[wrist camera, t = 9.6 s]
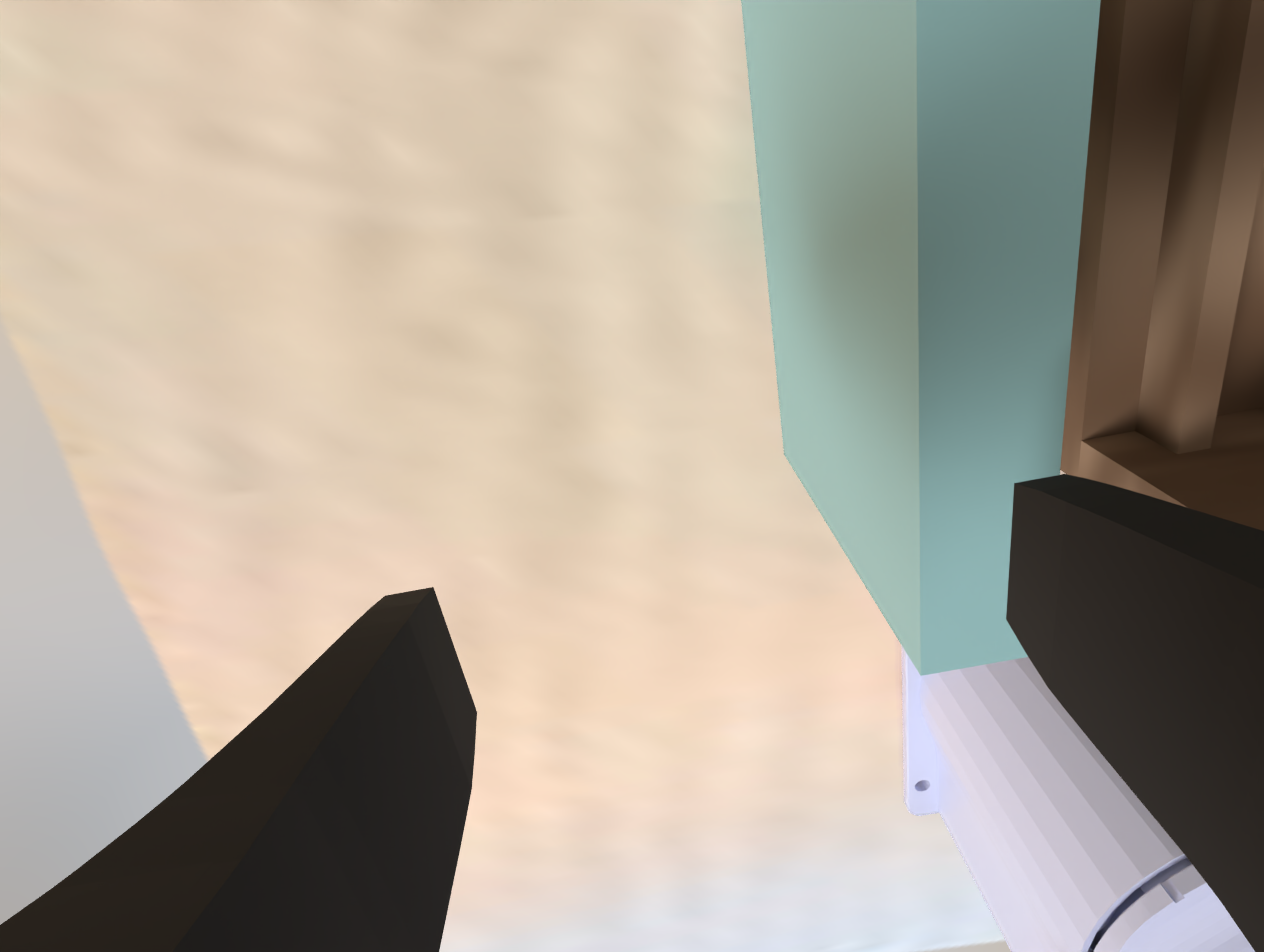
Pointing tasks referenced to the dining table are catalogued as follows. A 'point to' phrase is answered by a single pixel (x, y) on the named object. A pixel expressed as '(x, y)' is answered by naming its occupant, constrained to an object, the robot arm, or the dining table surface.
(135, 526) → the dining table surface
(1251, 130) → the walnut rack
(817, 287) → the teal sheet
